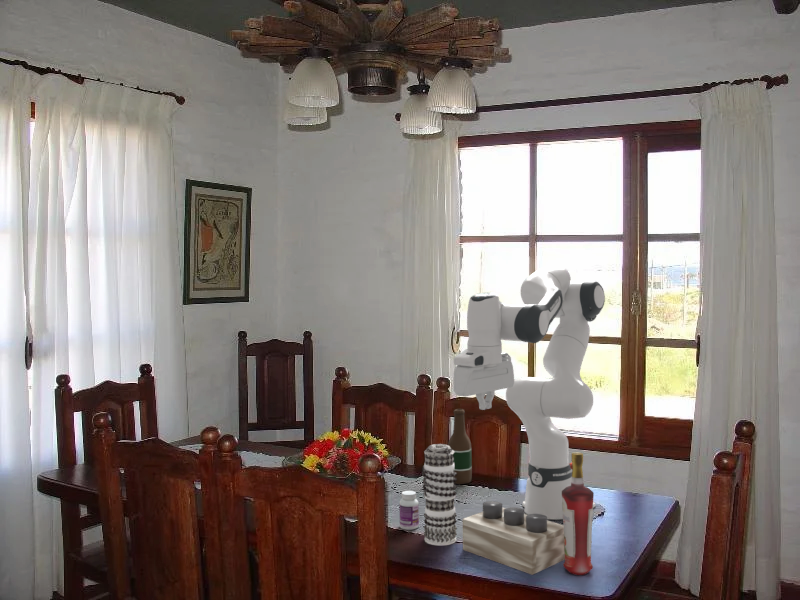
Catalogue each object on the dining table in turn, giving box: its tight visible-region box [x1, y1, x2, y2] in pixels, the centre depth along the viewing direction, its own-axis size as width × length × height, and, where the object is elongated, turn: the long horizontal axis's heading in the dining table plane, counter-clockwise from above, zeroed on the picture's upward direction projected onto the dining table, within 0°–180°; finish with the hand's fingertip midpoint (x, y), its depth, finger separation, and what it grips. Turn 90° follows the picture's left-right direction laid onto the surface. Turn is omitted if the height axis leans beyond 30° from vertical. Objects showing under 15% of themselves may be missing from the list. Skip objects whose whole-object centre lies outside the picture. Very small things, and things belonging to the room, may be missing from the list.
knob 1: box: [482, 500, 503, 519], centre depth 197 cm, size 5×5×8 cm
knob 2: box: [504, 506, 525, 526], centre depth 192 cm, size 5×5×8 cm
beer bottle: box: [447, 408, 473, 485], centre depth 256 cm, size 8×8×24 cm
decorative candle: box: [421, 443, 458, 547], centre depth 203 cm, size 9×9×25 cm
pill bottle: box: [398, 490, 420, 531], centre depth 213 cm, size 5×5×10 cm
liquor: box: [562, 451, 595, 576], centre depth 181 cm, size 7×7×28 cm
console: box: [461, 506, 565, 576], centre depth 192 cm, size 14×22×8 cm, turn 42°
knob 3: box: [526, 514, 548, 533], centre depth 187 cm, size 5×5×8 cm
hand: (485, 408), depth 200 cm, fingers closed
